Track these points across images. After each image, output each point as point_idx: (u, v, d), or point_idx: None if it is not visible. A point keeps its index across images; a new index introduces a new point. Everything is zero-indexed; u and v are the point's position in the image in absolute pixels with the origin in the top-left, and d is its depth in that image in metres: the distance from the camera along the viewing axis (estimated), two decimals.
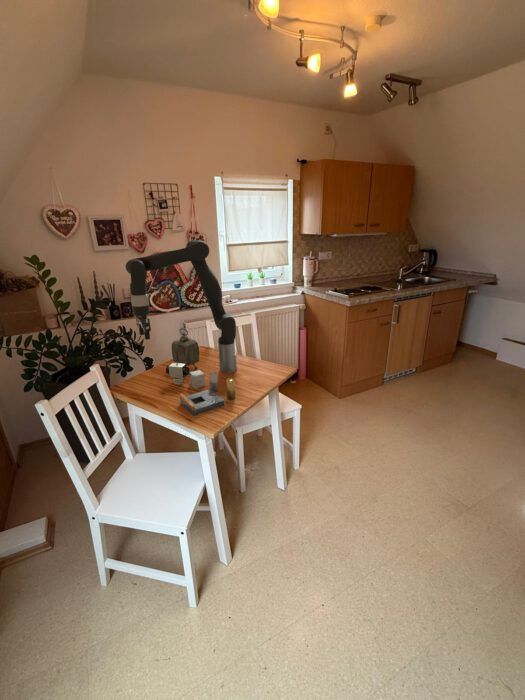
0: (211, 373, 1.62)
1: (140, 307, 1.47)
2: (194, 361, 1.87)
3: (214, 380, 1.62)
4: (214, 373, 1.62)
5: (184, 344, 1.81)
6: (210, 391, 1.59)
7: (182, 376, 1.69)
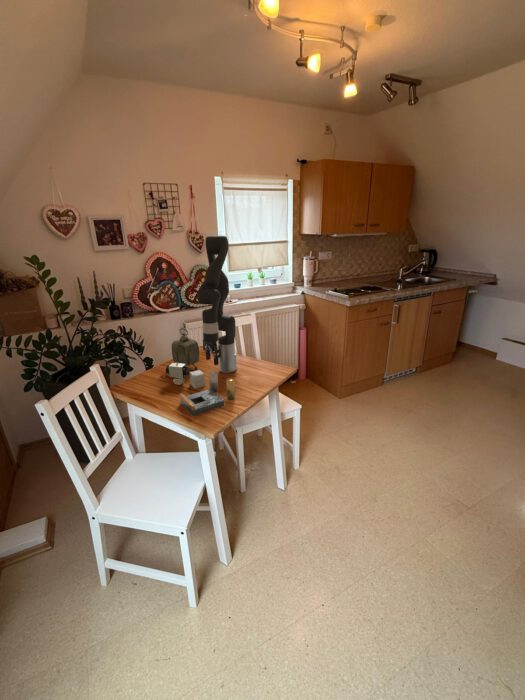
0: (211, 373, 1.62)
1: (212, 335, 1.51)
2: (194, 361, 1.87)
3: (214, 380, 1.62)
4: (214, 373, 1.62)
5: (184, 344, 1.81)
6: (210, 391, 1.59)
7: (182, 376, 1.69)
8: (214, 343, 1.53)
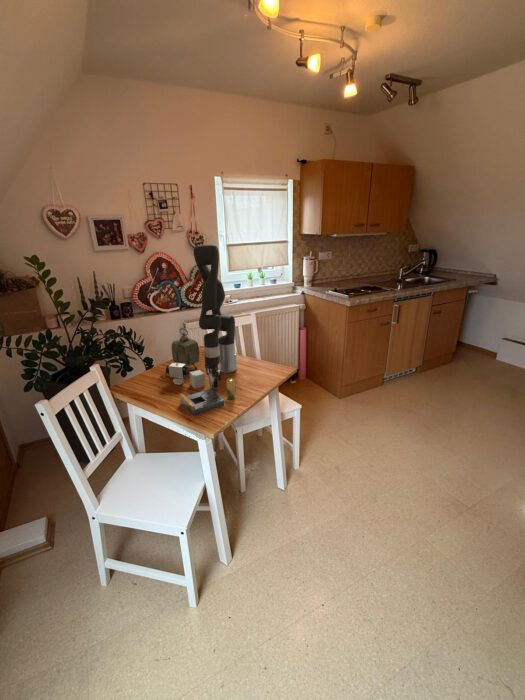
0: None
1: (213, 358, 1.55)
2: (194, 361, 1.87)
3: None
4: None
5: (184, 344, 1.81)
6: (210, 391, 1.59)
7: (182, 376, 1.69)
8: (215, 366, 1.57)
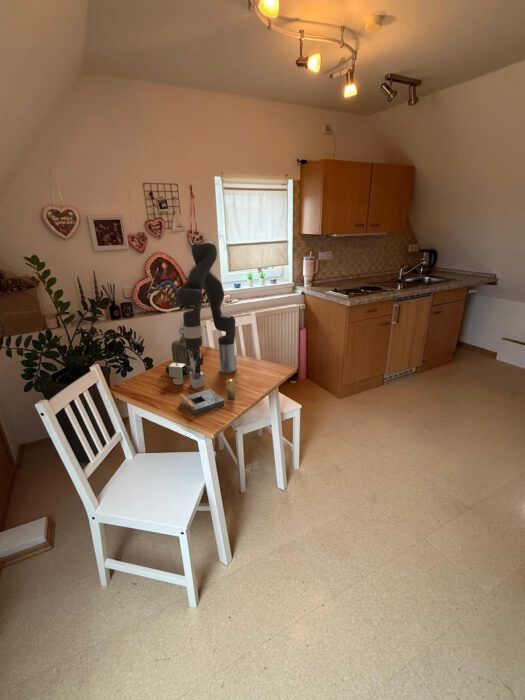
0: None
1: (194, 339, 1.36)
2: None
3: None
4: None
5: (184, 344, 1.81)
6: (210, 391, 1.59)
7: (182, 376, 1.69)
8: (197, 349, 1.38)
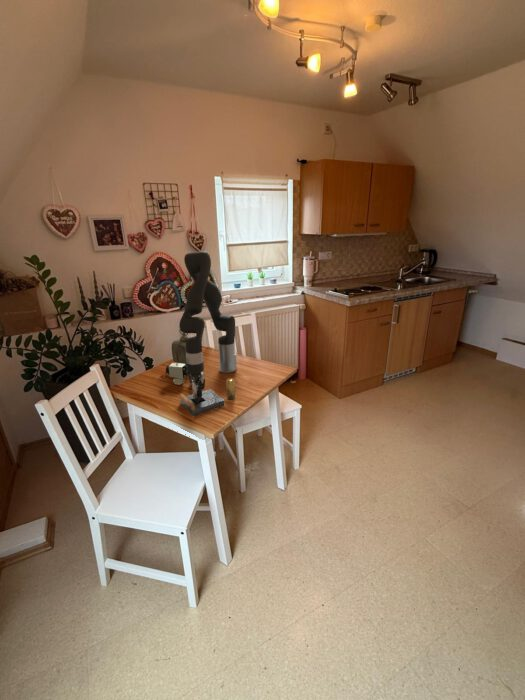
0: None
1: (196, 365, 1.41)
2: None
3: None
4: None
5: (184, 344, 1.81)
6: (210, 391, 1.59)
7: (182, 376, 1.69)
8: (198, 374, 1.42)
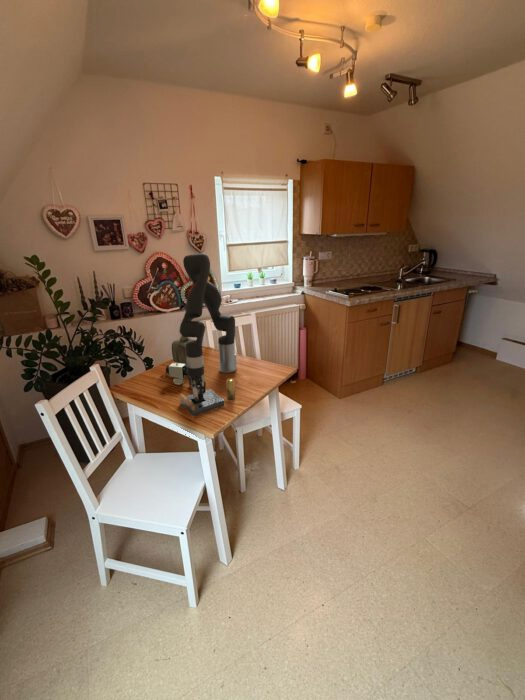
0: None
1: (196, 369, 1.41)
2: None
3: None
4: None
5: (184, 344, 1.81)
6: (210, 391, 1.59)
7: (182, 376, 1.69)
8: (199, 378, 1.43)
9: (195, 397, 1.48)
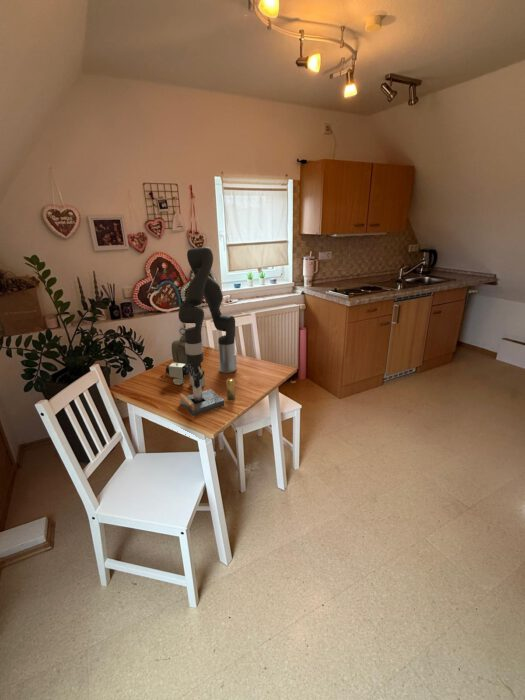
0: None
1: (195, 356, 1.39)
2: None
3: (198, 394, 1.48)
4: None
5: (184, 344, 1.81)
6: (210, 391, 1.59)
7: (182, 376, 1.69)
8: (198, 365, 1.41)
9: (195, 397, 1.48)
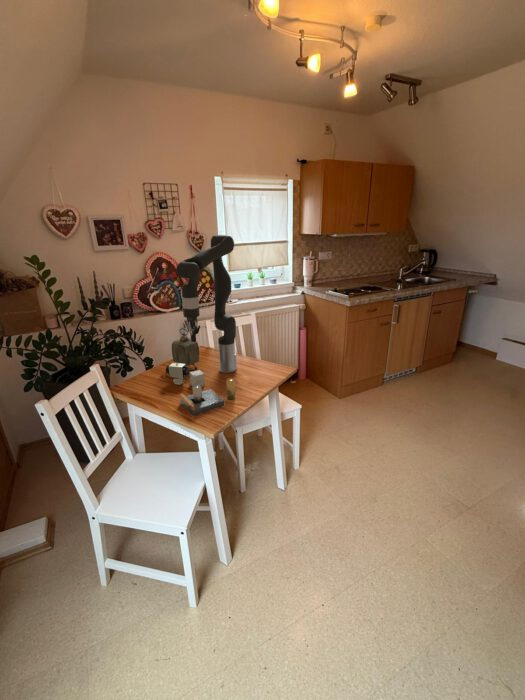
0: (194, 387, 1.48)
1: (192, 310, 1.47)
2: (194, 361, 1.87)
3: (198, 394, 1.48)
4: (198, 386, 1.48)
5: (184, 344, 1.81)
6: (210, 391, 1.59)
7: (182, 376, 1.69)
8: (194, 319, 1.49)
9: (195, 397, 1.48)
